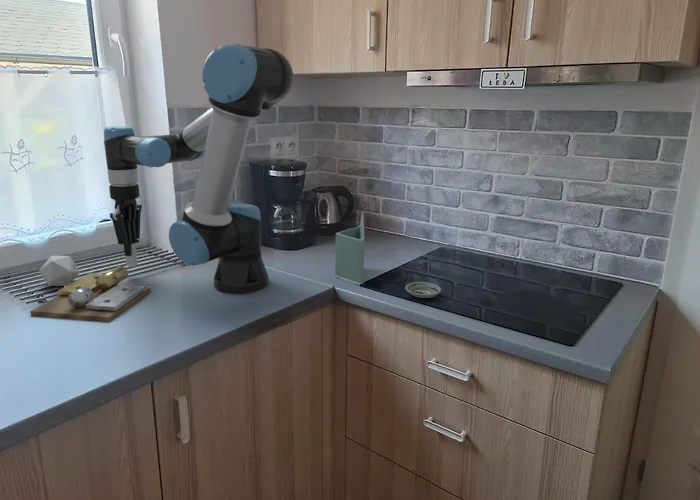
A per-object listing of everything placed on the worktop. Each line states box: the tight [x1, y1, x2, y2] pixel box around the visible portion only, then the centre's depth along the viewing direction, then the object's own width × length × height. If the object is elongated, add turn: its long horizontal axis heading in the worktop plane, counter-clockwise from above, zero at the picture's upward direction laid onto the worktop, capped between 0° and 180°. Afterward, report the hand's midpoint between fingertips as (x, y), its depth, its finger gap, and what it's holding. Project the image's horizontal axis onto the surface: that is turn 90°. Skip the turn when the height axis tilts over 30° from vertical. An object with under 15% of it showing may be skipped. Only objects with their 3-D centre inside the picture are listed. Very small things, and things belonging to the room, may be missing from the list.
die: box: [38, 255, 81, 287], centre depth 145 cm, size 8×9×10 cm
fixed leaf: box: [68, 284, 145, 311], centre depth 133 cm, size 12×14×4 cm
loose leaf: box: [57, 265, 129, 296], centre depth 141 cm, size 12×14×4 cm
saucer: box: [404, 281, 442, 299], centre depth 144 cm, size 10×10×2 cm
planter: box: [334, 212, 365, 285], centre depth 155 cm, size 16×8×20 cm, turn 2°
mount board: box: [30, 285, 152, 323], centre depth 134 cm, size 20×20×1 cm
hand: (131, 265), depth 152 cm, fingers closed
